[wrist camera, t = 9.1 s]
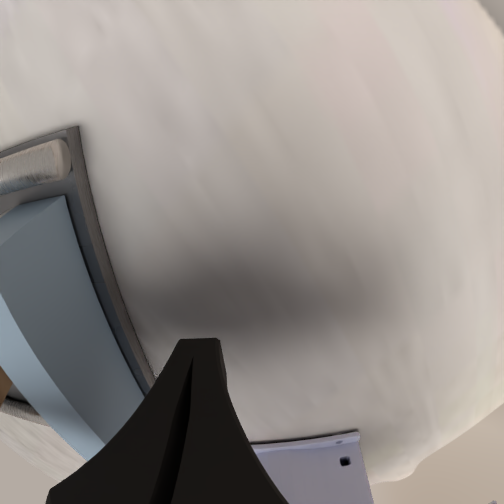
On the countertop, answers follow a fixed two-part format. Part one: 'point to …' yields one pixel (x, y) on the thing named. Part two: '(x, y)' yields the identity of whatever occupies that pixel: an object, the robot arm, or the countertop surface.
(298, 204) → the countertop surface
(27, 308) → the bar
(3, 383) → the walnut block
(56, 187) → the vise
